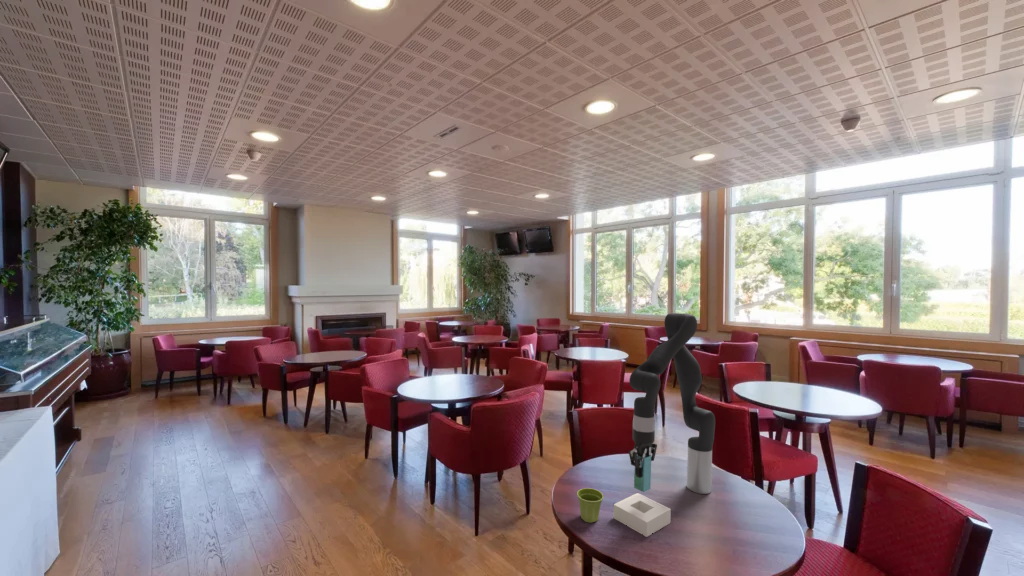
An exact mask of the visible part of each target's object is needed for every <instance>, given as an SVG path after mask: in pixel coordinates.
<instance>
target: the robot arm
mask: <svg viewBox="0 0 1024 576" xmlns="http://www.w3.org/2000/svg"><path fill="white" fill-rule="evenodd" d="M663 323H664V331H665V334H666V337H667V340H666V341H664V342H662V343H660V344H659V345H658V346H656V347H655V348H654V349H653V350H652V352H651V353H650V354H649V356H648V358H647V359H646V360H645V361H644V362H643V363H641V364H640V365H639V366H637V367H636V368H635V369H634V370H633V371H632V372H631V374H630V376H629V381H628V382H629V386H630V387H631V388H632V389H633V390H635V391H639V392H644V393H645V396H640V397H639V396H638V397H636V398H635V399H634V402H633V416H632V417H633V419H632V441H633V442H634V446H633V449H632V450H631V449H629V450H628V456H629V462H630V464H631V466H633V467H634V471H635V475H636V477H639V478H641V477H642V462H643V461H644V458H645V456H646V455H649V456H650V455H651V462H654V461H655V457H656V452H657V449H658V444H657V443H655V438H656V435H655V434H656V430H655V429H656V420H655V407H656V401H657V398H658V394H659V392H660V388H661V379H660V377H659V376H660V375H662V374H663V373H664V372H665V370H666V369H667V367H668V366H669V364H670V362H671V361H672V359H673V362H674V368H675V373H676V378H677V382H678V386H679V391H680V392H679V393H680V397H681V406H682V415H683V421H684V423H685V426H686V427H687V428H688V429H692V430H694V431H697V432H698V436H692V437H689V438H688V439H687V463H686V464H687V466H686V468H687V470H686V471H687V473H686V487H687V489H688V490H689V491H691V492H693V493H695V494H700V495H701V494H702V495H707V494H710V493H711V492H712V487H713V486H712V484H713V482H712V481H713V445H714V440H715V431H716V417H715V413H713V411H711V410H707V409H705V408H701V407H699V406H698V405H697V401H696V400H697V399H696V394H697V392H698V391H699V389H700V388H701V385H702V382H703V377H702V372H701V370H702V369H701V366H700V364H699V362H698V360H697V359H696V358H695V357H694V355H693V354H692V353H691V351H690V350H689V349H688V348H687V347H686V344H687V343H688V342H689V341H690V340H691V339H692V337H694V335H695V334H696V333H697V330H698V320H697V318H696V316H695V315H694V314H690V313H681V312H680V313H679V312H676V313H675V312H674V313H673V312H672V313H670V312H669V313H668V314H666V316H665V317H664V322H663ZM637 456H640V457H642V458H639V457H637ZM638 460H639V461H640V462H639V463H638Z"/></svg>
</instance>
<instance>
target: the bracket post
mask: <svg viewBox="0 0 1024 576" xmlns="http://www.w3.org/2000/svg"><path fill="white" fill-rule="evenodd" d="M651 455H652V454H651ZM651 455H650V456H649V455H646V456H645V458H644V461H643V462H642V477H641V478H639V477H636V475H635V470H633V471H634V473H633V475H634V479H633V482H634V483H633V488H634V489H636V490H639V491H641V492H643V493H644V492H647V491H650V490H651V486H652V485H651V483H652V481H651V480H652V479H651V478H652V477H651V476H652V461H651ZM637 457H639V458H642V457H640V456H637ZM639 462H640V461H639V460H638V463H639Z"/></svg>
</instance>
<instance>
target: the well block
mask: <svg viewBox="0 0 1024 576" xmlns="http://www.w3.org/2000/svg"><path fill="white" fill-rule="evenodd" d="M671 511H672V509H671V508H670V507H667V506H665V505H663V504H661V503H659V502H658V501H655V500H653V499H651V498H649V497H647V496H645V495H643V494H641V493H638V492H636V493H635V494H632V495H629V496H628V497H626V498H624V499H622V500H620V501H617V502H616V503H614V504H613V515H612V516H613V519H614V520H616V521H618V522H620V523H621V524H623V525H625V526H626V525H627V527H628V528H630V529H632V530H634V531H636V532H637V533H639V534H641V535H642V534H643V535H642V536H644V537H645V538H648V537H649V536H651V535H653V534H655V532H658V531H659V530H660V529H662V528H664V527H666V526H667V525H669V524H670V523H671V519H672V517H671V516H672V515H671V513H672V512H671ZM652 533H653V534H652Z"/></svg>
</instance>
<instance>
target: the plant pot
mask: <svg viewBox="0 0 1024 576" xmlns="http://www.w3.org/2000/svg"><path fill="white" fill-rule="evenodd" d="M576 495H577V498H578V502H579V509H580V510H579V512H580V517H581V518H580V519H582V520H583V521H584V522H586V523H589V524H590V523H591V524H592V523H594V522H595V523H596V522H598V520H599V517H600V510H601V504H602V501H603V500H604V494H603V492H602V491H600V490H598V489H596V488H591V487H589V488H588V487H585V488H581V489H578V490H577V492H576Z"/></svg>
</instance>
